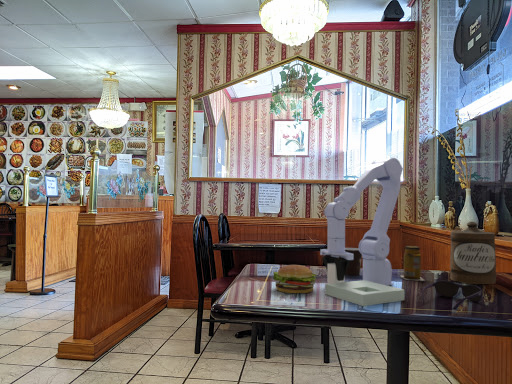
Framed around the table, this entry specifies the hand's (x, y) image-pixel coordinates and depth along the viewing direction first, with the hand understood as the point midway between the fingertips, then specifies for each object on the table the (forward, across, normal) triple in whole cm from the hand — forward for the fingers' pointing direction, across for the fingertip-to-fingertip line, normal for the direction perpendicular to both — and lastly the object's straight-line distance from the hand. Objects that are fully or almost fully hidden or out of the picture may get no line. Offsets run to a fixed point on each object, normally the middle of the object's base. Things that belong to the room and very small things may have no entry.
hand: (336, 279), depth 131 cm
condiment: (+3, -1, +38) cm, 38 cm away
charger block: (+1, 0, 0) cm, 1 cm away
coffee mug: (+3, -17, +21) cm, 27 cm away
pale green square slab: (+2, +15, -2) cm, 15 cm away
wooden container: (+3, +12, +55) cm, 56 cm away
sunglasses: (+3, +30, +16) cm, 34 cm away
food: (+3, -2, -15) cm, 15 cm away
